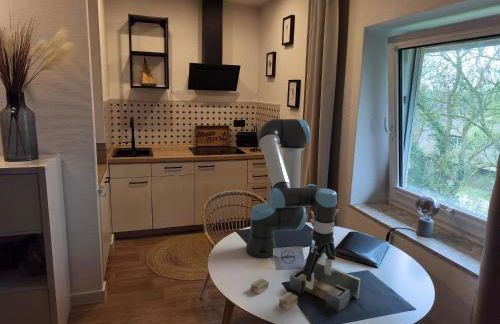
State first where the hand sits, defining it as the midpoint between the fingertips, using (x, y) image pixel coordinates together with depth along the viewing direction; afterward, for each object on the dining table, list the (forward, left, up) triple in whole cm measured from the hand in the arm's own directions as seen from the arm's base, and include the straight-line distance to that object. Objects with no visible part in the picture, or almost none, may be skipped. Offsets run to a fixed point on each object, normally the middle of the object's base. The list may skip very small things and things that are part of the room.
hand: (318, 280), depth 136 cm
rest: (-12, -13, -6) cm, 19 cm away
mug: (-11, +18, -6) cm, 22 cm away
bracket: (0, +3, -6) cm, 7 cm away
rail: (0, 0, -5) cm, 5 cm away
